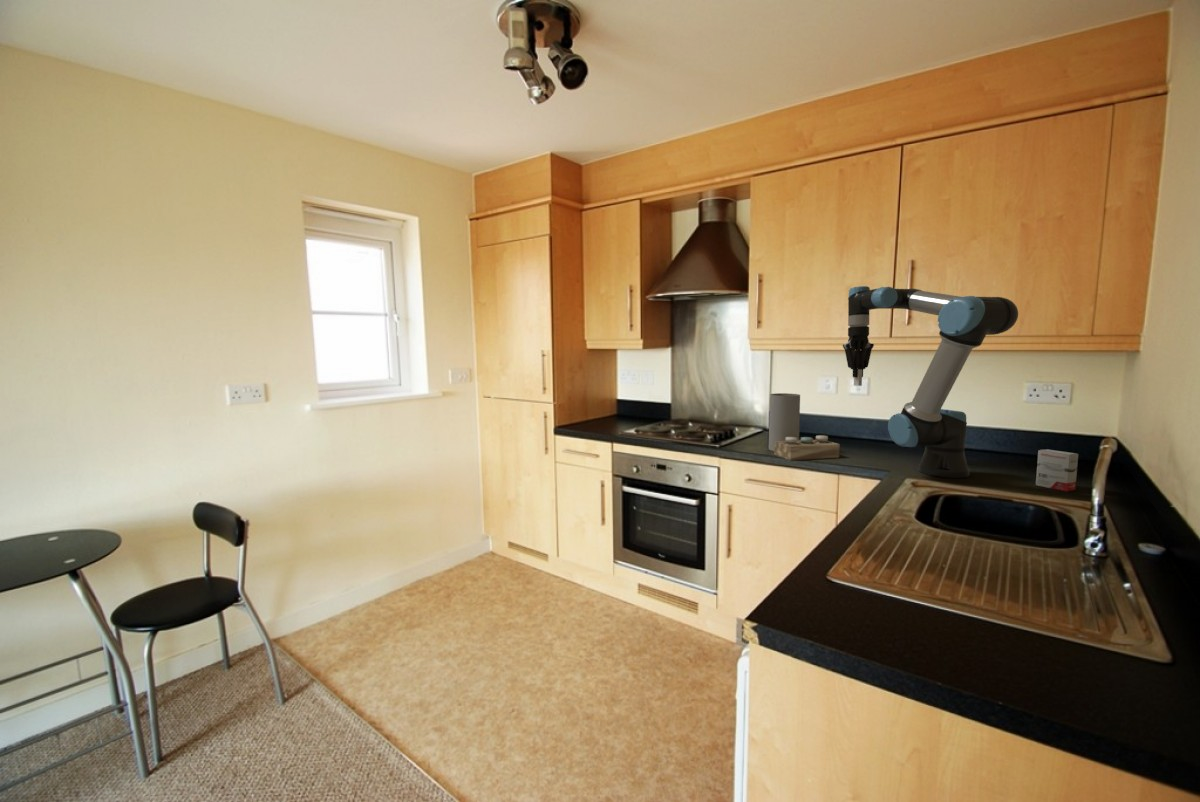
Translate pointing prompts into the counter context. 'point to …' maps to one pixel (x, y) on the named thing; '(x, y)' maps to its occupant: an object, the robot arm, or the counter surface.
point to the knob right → (821, 438)
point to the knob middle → (806, 440)
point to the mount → (807, 450)
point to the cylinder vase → (783, 417)
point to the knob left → (791, 440)
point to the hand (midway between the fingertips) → (857, 385)
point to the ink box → (1057, 470)
